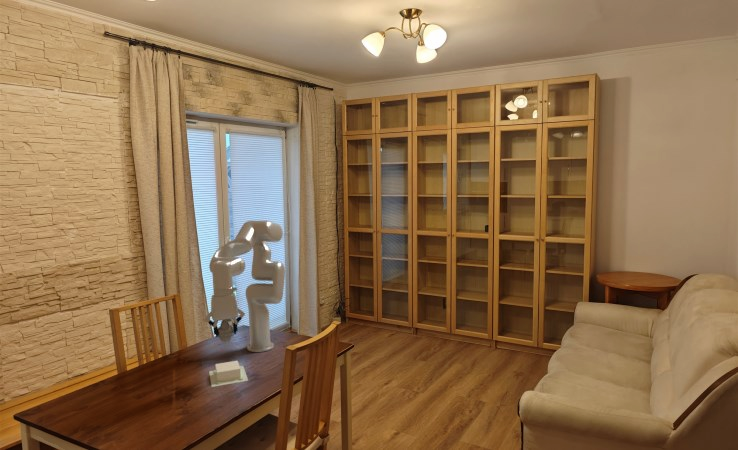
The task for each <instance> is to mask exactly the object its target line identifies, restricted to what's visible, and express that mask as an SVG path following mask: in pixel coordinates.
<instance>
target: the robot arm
mask: <svg viewBox="0 0 738 450" xmlns="http://www.w3.org/2000/svg"><path fill="white" fill-rule="evenodd" d="M283 233H284V232H283V228H282V226H281V225H280V224H278V223H275V222H273V221H270V220H248V221H245V222H244V223H243V225H241V227H240V229H239V231H238V232H237V234H236V236H235V238H234V239H233V240H230V241H229V242H227V243H225V244H224V245H222V246H220V247H219V248H217V249H216V251H215V252H214V254H213V256H212V258H211V260H210V261H209V267H208V268H209V270H210V271H209V272H210V273H211V274H212V286H213V294H212V295H211V299H210V312H209V313H208V314H207V315H206V316H205V317H204V321H205V322H206V323H207V324H209V325H210V326H212V327H213V335H215V337H216V338H219V336H218V328H219V327H218V322H219V321H223V320H228V319H230V320H232V321H234V324H233V325H234V335H237V332H238V330H239V329H238V324H239V323H240V322H241V320H242V319H243V318H244V317H245V315H246V313H245V312H244V311H243V310H241V309H240V308H238V302H237V297H236V293H235V292H237V291H238V288H237V287H234V283H233V281H234V280H233V277H236V276H240V275H241V274H243V273H244V272H245V270H246V262H245V260H244V259H243V258H241V257H239V256H242V255H246V254H247V253H249V252H250V251H253V254H252V255H253V256H252V262H251V263H252V264H251V272H250V273H251V278H252V279H253V280H255V281H259V282H260V283H259V282H258V283H257V282H256V283H251V284H249V285H248V286H247V287H246V289H245V298H246V302H247V308H248V326H249V327H248V328H249V343H248V344H247V345H246V350H247V351H249V352H251V353H262V352H267V351H271V350H272V349H273V348H274V346H275V344H274V342H272V341H271V328H270V323H271V322H270V311H269V307H268V306H267V304H268V305H278V304H280V303H281V302H282V301H283V297H284V290H285V289H284V286H285V279H286V270H285V265H284V264H283V263H282V262H281V261H276V260H272V259H271V258H272V250H271V248H270V246H269V244H267V243H268V242H269V243H276V242H277V243H278V242H280V241H281V240H282V238H283V235H284V234H283ZM261 282H264V283H261ZM266 282H272V283H266ZM211 319H212V320H211ZM233 325H232V326H233Z"/></svg>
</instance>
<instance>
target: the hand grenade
mask: <svg viewBox="0 0 738 450" xmlns="http://www.w3.org/2000/svg"><path fill="white" fill-rule="evenodd" d="M229 322H230V323H231V325H230V323H229ZM233 324H234V321H233V319H228V320H221V322H220V325H219V327H218V339H219V340H220V341H221V342H223V343H228V342H230V341H231V340H232V338H233V336H234V335H235V334H234V325H233Z"/></svg>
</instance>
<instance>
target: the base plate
mask: <svg viewBox="0 0 738 450" xmlns="http://www.w3.org/2000/svg"><path fill="white" fill-rule="evenodd" d="M239 366H240V372H241V377H240V378H239V379H233V380H227V381H221V382H220V381H217V377H216V369H214V370H209V371H208V373H209V380H210V385H211V388H214V387H220V386H225V385H230V384H236V383H237V384H238V383H241V382H247V381H248V382H249V379H248V376H247V373H246V370H245V367H244V365H239Z"/></svg>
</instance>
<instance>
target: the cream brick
mask: <svg viewBox="0 0 738 450" xmlns="http://www.w3.org/2000/svg"><path fill="white" fill-rule="evenodd" d="M214 365H215V366H214V367H215V370H216V377H217V381H220V382H221V381H227V380H233V379H239V378H240V377H241V372H240V366H241V365H240V364H239V361H238V360H232V361H226V362H221V363H216V364H214Z"/></svg>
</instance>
